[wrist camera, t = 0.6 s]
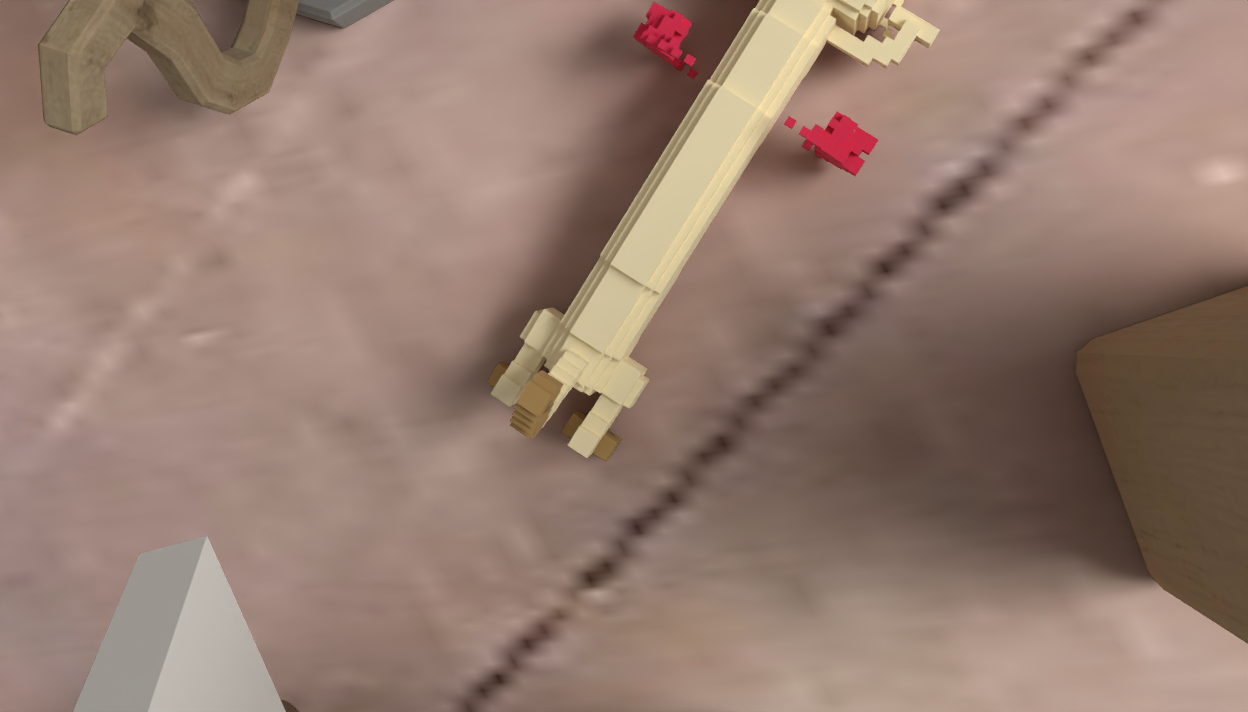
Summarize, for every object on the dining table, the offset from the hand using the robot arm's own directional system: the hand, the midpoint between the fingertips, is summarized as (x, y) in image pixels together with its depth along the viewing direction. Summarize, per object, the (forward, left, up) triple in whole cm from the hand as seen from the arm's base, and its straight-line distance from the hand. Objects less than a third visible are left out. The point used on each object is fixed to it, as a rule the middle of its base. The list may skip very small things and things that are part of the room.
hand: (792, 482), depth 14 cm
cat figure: (+7, -6, -34) cm, 35 cm away
